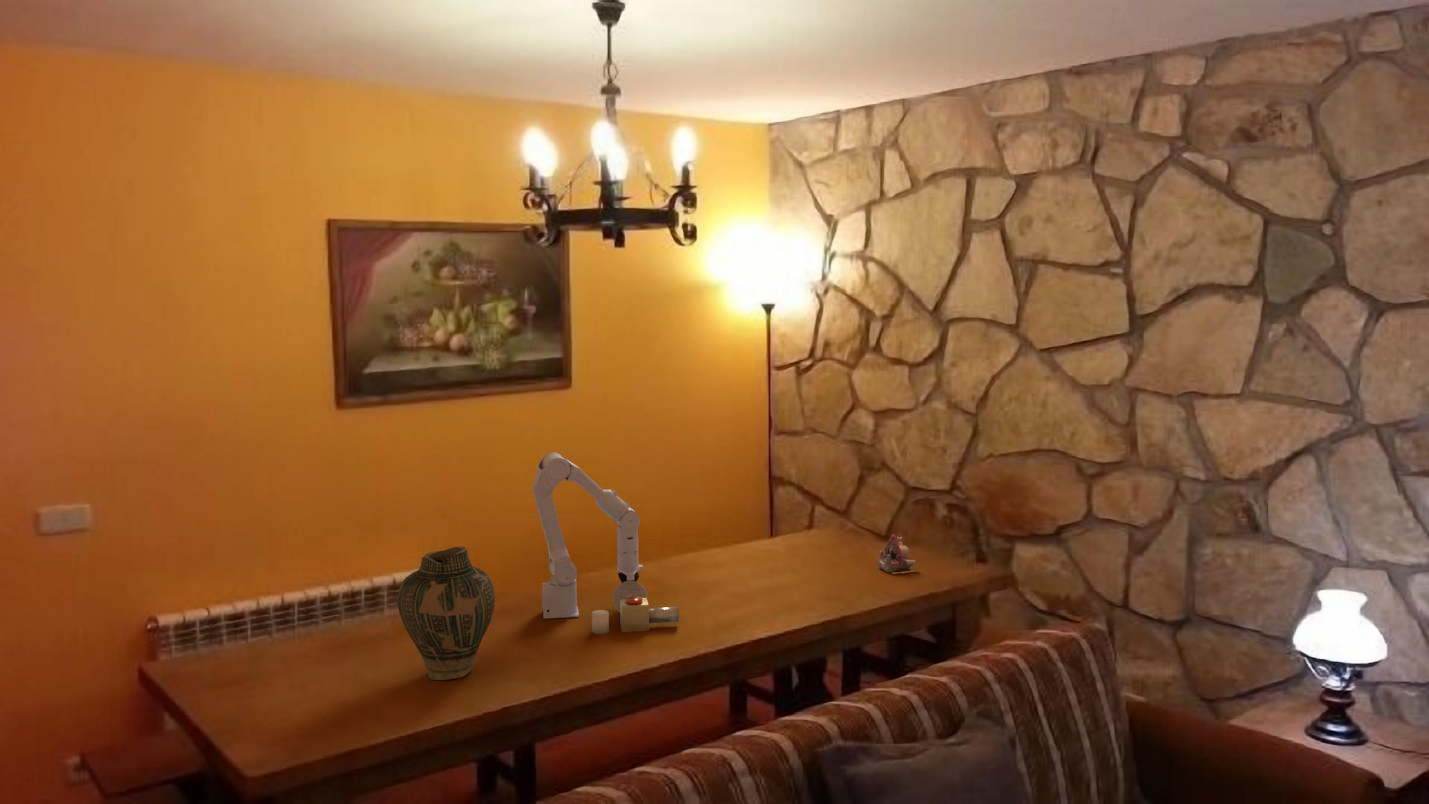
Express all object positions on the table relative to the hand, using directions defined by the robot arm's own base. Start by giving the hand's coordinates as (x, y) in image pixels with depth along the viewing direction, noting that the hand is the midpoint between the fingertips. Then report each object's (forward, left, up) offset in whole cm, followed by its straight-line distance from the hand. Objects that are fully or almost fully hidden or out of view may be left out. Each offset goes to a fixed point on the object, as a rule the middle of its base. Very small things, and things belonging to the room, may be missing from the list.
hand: (628, 598), depth 318 cm
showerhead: (0, -1, -2) cm, 2 cm away
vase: (-46, -43, -3) cm, 63 cm away
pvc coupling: (-9, -19, -3) cm, 21 cm away
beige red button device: (+4, -15, -3) cm, 16 cm away
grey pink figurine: (+85, +24, -3) cm, 88 cm away
